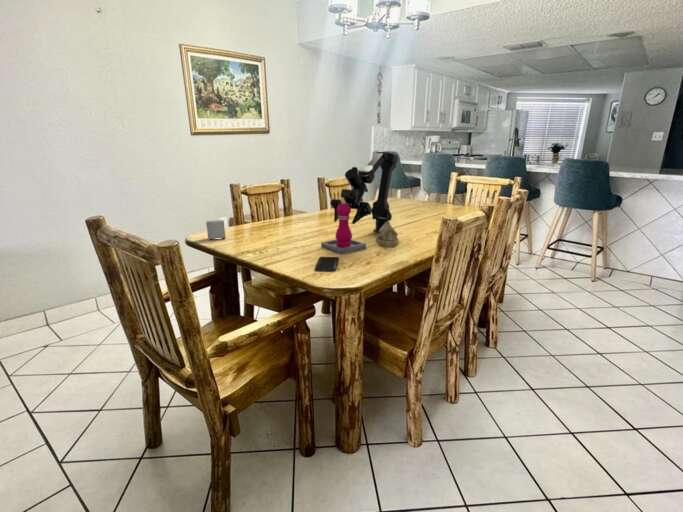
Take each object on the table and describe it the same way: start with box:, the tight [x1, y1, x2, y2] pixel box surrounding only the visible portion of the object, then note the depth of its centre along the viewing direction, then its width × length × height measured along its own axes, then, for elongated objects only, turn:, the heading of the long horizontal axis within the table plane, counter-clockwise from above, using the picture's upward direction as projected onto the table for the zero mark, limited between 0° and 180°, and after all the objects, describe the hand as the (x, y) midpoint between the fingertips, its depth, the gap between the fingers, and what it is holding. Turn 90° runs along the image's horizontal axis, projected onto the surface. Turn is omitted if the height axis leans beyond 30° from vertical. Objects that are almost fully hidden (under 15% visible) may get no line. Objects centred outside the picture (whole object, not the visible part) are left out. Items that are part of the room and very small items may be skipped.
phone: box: [314, 256, 340, 273], centre depth 137 cm, size 8×1×15 cm
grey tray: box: [320, 238, 367, 255], centre depth 158 cm, size 14×14×2 cm
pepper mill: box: [335, 199, 353, 248], centre depth 156 cm, size 7×7×20 cm
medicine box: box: [205, 219, 226, 240], centre depth 173 cm, size 8×4×9 cm, turn 108°
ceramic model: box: [374, 221, 399, 247], centre depth 166 cm, size 14×11×10 cm
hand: (343, 222), depth 156 cm, fingers open, 9 cm apart
